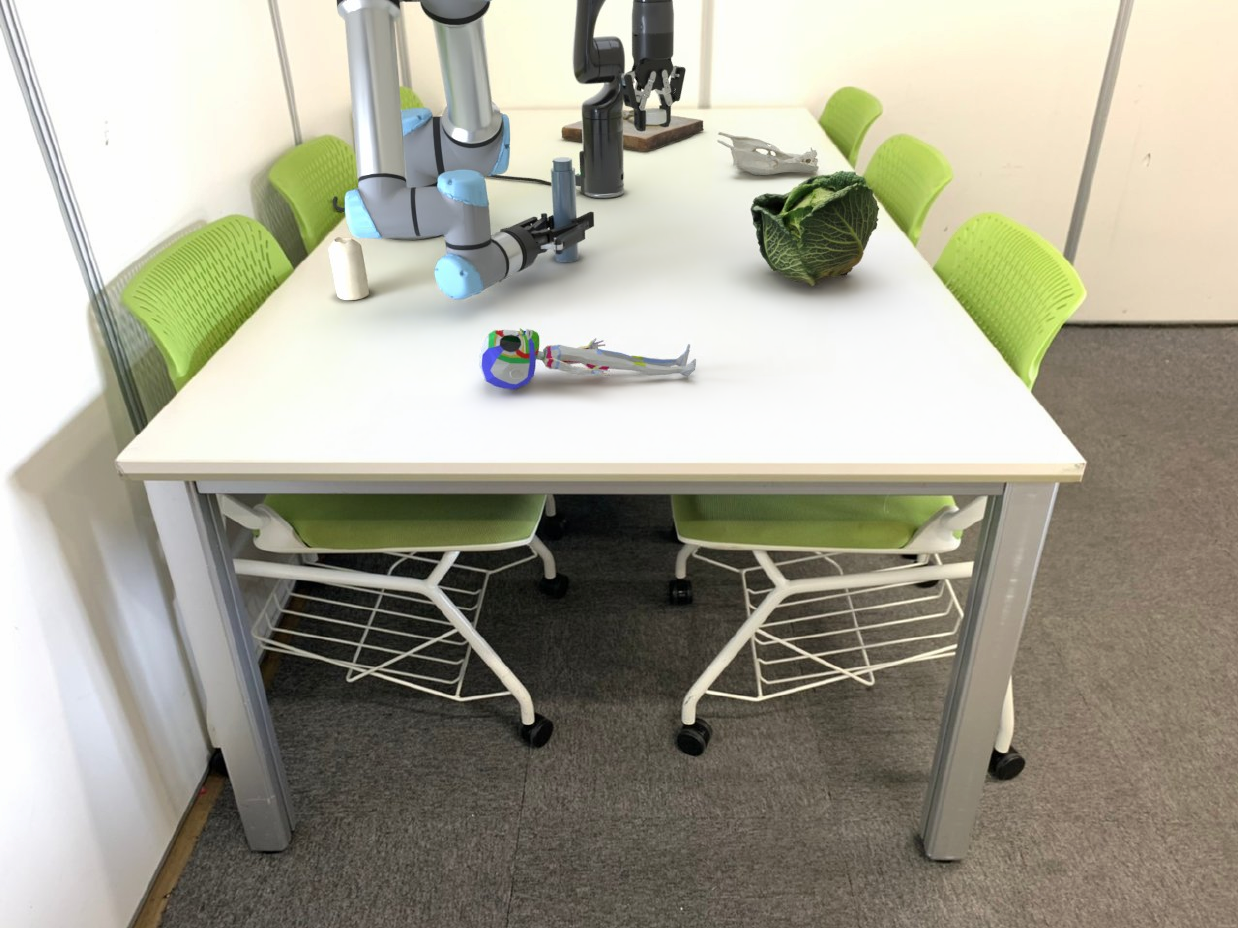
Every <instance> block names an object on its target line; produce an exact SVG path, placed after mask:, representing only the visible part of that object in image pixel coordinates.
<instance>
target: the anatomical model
mask: <svg viewBox="0 0 1238 928" xmlns="http://www.w3.org/2000/svg"><path fill="white" fill-rule="evenodd" d="M717 134H718V136H723V137H726V138H728V139H730V140H731V142H732V145H730V144H728V143H726V142H725V141H723V140H720V139H717V140H716V142H717V143H719V144H721V145H723V146H725V147H727V148H729V150H730V153H731V156H732V164H733V165H732V166H734V167H737V170H738V171H740V172H748V173H749V174H751V175H754V176H771V175H777V174H781V173H803V174H809V173H814V172H817V171H819V169H820V167H819V165H818V163H819V158H817V156H818V152H817V150H816V149H813V148H812V146H810V151H806V152H804V153H803V154H800V153H799V154H798V153H788V152H784V151H782V150H780V148H779V147H777V146H776V145H774V144H772V143H769V142H767V141H765V140H761V139H758V138H753V137H749V136H739V135H733V134H729V133H725V132H723V131H718V133H717ZM758 150H765V151H767V153H766V154H764V153H762V152H760V151H758ZM771 152H773V153H774V155H773V154H772V153H771Z"/></svg>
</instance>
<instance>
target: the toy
mask: <svg viewBox="0 0 1238 928" xmlns="http://www.w3.org/2000/svg"><path fill="white" fill-rule="evenodd" d="M601 343H603V344H601ZM605 346H606V343H605V344H604V340H603V339H602V340H599V341H597V338H596V337H595V338H594V339H593V340H591V341H590V342H589V344H588V345H584V346H583V345H582V346H579V347H572V346H567V345H562V344H552V345H551V344H550V345H546V346H545V347H544V348H543V349H542V351H540V335H539V333H538V332H537V331H535V330H533V329H530V328H526V329H525V330H524V329H522V328H519V330H513V329H499V330H497V329H494V330H493V331H491V332H490V333H488V335H487V336H486V338H485V339H484V340H483V343H482V344H481V346H480V351H479V363H478V367H479V369H480V372H481V374H482V378H483V379H484V381H485V382H486V383H488V384H490V385H492V386H493V387H497V388H501V389H504V390H514V391H515V390H516V389H519V388H522V387H525V386H526V385H528V384H529V383H530V382H531V380H532V379H533V378H534V376H535V373H536V367H537V366H536V363H537V360H538V361H542V363H543V364H544V366H545V368H547V369H549V370H559V371H561V372H567V373H569V374H572V375H576V376H588V375H594V376H599V377H604V378H607V379H609V376H611V377H612V376H613V375H612V374H611V373H607V372H610V370H619V371H621V370H622V371H634V372H637V373H642V374H644V375H648V376H667V375H674V374H680V375H681V376H684V377H689V376H690V375H691V374H692V373H693V372H694V371H696V367H697V366H696V365H697V359H696V358H694V359H693V360H692V361H691V362H690V363H688V360H689V359H688V358H689V355H690V350H691V344H690V343H688V344H687V345H686V349H685V351H684V352H683V353H682V354H681V355H680V356H678V357H677V358H671V359H670V358H656V357H655V358H654V357H646V356H639V355H629V354H626V353H623V352H618V351H612V350H606V349H601V348H599V347H605ZM687 363H688V364H687ZM576 364H577V365H578V364H582V365H583V366H586V367H583V366H576Z"/></svg>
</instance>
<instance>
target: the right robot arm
mask: <svg viewBox="0 0 1238 928" xmlns="http://www.w3.org/2000/svg"><path fill="white" fill-rule="evenodd" d="M606 1H607V0H576V1H575V2H576V5H575V6H576V7H575V17H574V29H573V38H572V49H571V50H572V51H571V52H572V53H571V63H572V64H571V65H572V73H573V76H574V79H575V81H576V82H577V83H578V84H580V85H597V84H603V85H602V88H601V89H600V90H599V91H598V92H597V93H595V94H594V95H593V96H591V97H589V98H588V99H586V100H584V101H583V102H582V103H581V109H580V112H581V121H582V140H583V142H582V150H580V151H579V153H578V156H579V172H578V173H575V183H576V187H580V195H585V196H587V197H589V198H595V199H612V198H617V197H620V196H622V195H624V193H625V187H624V186H625V183H624V181H625V174H624V173H625V172H624V148H623V110H624V107H628V108H631V109H632V110H634V126H635V128H636V130H637V131H641V132H642V131H645V130H646V111H645V110H644V109H646V105H647V102H648V99H649V98H650V96H651V92H653V91H655V93H656V94H657V97H658V100H659V103H660V105H659V107H658V108H659V109H664V110H666V113H667V115H666V122H665V123H663V124H659V125H660V126H661V127H669V123H670V121H671V116H672V106H673V104H674V103H675V102H679V101H680V100H681V96H682V91H683V86H684V81H685V76H686V70H687V69H686V67H684V66H680V65H674V64H673V60H672V58H673V57H674V49H675V47H674V45H675V44H674V43H675V39H674V37H675V36H674V35H675V32H674V31H675V9H674V0H632V9H631V57H632V59H633V63H632V67H631V70H629V71H627V72H626V53H625V47H624V44H623V41H622V40H621V38H620V37H618V36H615V35H603V36H602V35H601V36H595V29H596V24H597V21H598V17H599V15H600V12H601V10H602V8H603V7H604V5H605V3H606ZM669 79H670V80H669ZM635 81H636V82H635ZM634 84H635V85H634ZM483 177H484V178H485V177H486V178H492V179H500V180H501V179H502V180H511V181H522V182H532V183H539V184H543V185H546V186H551V187H552V184H551V181H547V180H544V179H540V178H533V177H522V176H511V175H503V174H499V175H491V176H483Z"/></svg>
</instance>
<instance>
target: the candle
mask: <svg viewBox="0 0 1238 928" xmlns="http://www.w3.org/2000/svg"><path fill="white" fill-rule="evenodd" d="M362 247H363V246H362V244H361V243H359V241H357V240H355V239H353V238H348V237H340V236H338V237H336V238H334V239H333V241H332V242H331V243H330V245H329V247H327V250H328V256H329V261H330V265H331V272H332V276H333V282H334V287H335V291H336V297H337V298H338V299H340V300H342V301H343V300H344V301H354V300H361V299H363V298H366V297H368V296H369V294H370V287H369V281H368V275H367V269H366V265H365V258H364V252H363V248H362Z"/></svg>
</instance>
